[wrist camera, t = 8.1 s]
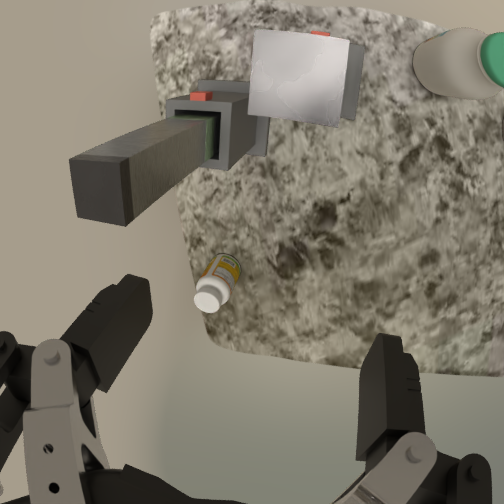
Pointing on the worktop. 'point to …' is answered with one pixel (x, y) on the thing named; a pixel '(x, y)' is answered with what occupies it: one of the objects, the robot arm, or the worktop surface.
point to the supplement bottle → (217, 283)
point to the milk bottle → (462, 64)
